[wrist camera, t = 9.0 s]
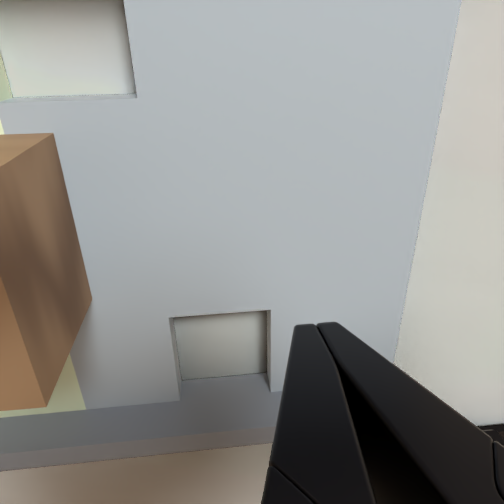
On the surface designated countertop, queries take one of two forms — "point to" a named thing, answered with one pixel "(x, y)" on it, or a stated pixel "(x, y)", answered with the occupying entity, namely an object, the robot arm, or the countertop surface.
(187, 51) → the board
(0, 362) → the walnut block
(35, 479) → the countertop surface
